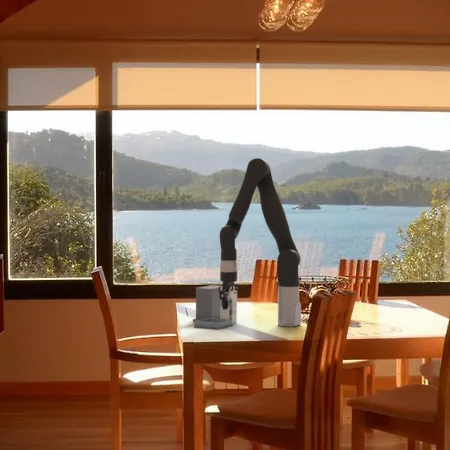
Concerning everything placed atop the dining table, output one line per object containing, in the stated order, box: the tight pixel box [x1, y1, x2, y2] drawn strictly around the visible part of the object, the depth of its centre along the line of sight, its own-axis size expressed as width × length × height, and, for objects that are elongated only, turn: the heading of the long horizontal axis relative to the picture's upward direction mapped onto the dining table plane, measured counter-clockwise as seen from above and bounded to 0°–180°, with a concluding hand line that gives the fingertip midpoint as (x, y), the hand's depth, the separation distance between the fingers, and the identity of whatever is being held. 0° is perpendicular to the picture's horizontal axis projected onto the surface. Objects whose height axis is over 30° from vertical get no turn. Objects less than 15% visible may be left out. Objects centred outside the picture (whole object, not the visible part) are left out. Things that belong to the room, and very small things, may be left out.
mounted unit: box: [192, 284, 220, 322], centre depth 376 cm, size 10×16×15 cm, turn 152°
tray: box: [193, 318, 233, 330], centre depth 357 cm, size 12×12×2 cm
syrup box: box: [220, 291, 238, 325], centre depth 367 cm, size 6×6×14 cm
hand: (228, 308), depth 367 cm, fingers closed on syrup box, 6 cm apart
